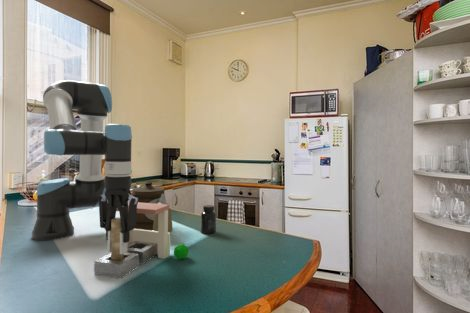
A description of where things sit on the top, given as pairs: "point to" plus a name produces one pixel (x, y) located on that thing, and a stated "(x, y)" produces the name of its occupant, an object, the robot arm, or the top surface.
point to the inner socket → (142, 250)
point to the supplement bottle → (208, 220)
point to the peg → (116, 239)
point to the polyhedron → (181, 251)
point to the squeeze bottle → (155, 224)
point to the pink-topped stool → (154, 236)
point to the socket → (116, 265)
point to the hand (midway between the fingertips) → (117, 251)
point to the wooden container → (147, 196)
